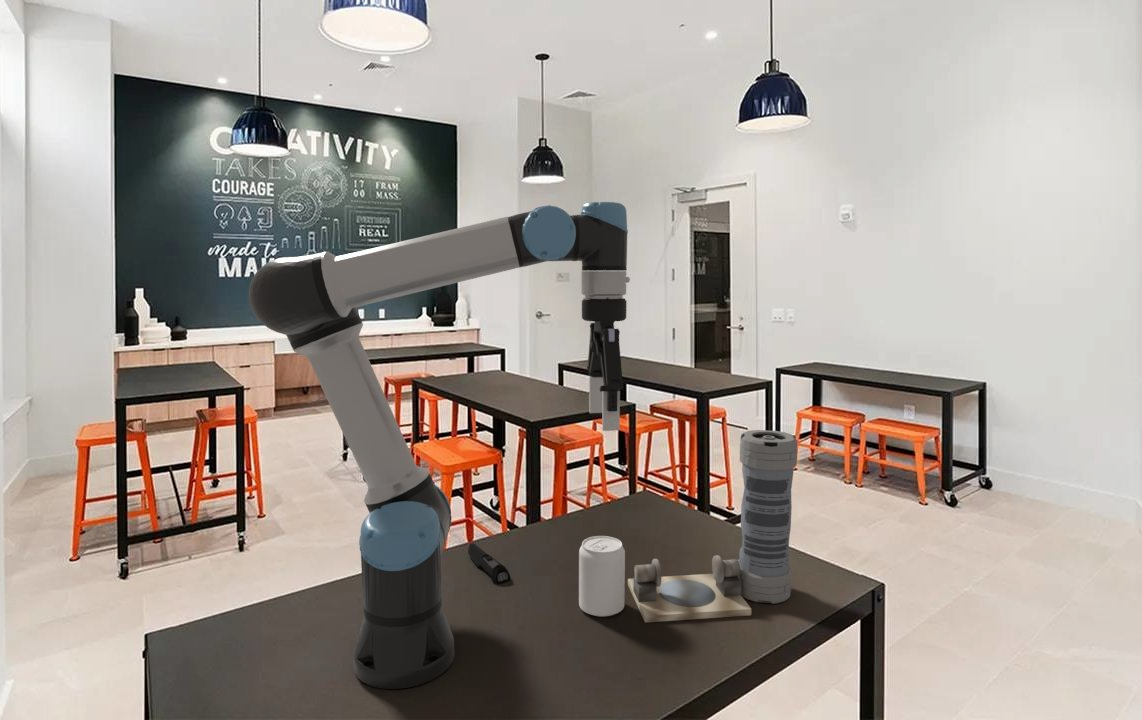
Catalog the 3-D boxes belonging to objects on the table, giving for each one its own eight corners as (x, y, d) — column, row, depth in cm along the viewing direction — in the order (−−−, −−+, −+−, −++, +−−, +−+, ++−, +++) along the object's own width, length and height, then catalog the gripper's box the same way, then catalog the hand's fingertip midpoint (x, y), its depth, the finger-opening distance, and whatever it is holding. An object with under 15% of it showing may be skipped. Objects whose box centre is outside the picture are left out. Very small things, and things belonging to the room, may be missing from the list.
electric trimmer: (480, 554, 143) (480, 540, 142) (512, 582, 130) (512, 566, 129) (464, 558, 141) (463, 544, 141) (494, 587, 128) (494, 571, 127)
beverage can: (633, 607, 119) (634, 543, 118) (604, 624, 114) (604, 557, 112) (599, 592, 125) (599, 531, 123) (569, 608, 119) (569, 544, 118)
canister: (793, 607, 119) (801, 444, 115) (736, 602, 121) (741, 441, 117) (787, 582, 129) (794, 430, 125) (733, 577, 131) (739, 428, 127)
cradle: (645, 622, 114) (645, 578, 113) (627, 584, 128) (628, 545, 127) (751, 615, 117) (752, 572, 116) (723, 578, 130) (724, 540, 129)
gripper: (643, 300, 100) (641, 438, 103) (612, 294, 125) (611, 405, 127) (594, 300, 99) (593, 439, 102) (572, 294, 124) (572, 406, 127)
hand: (603, 421), depth 115 cm, fingers open, 13 cm apart
